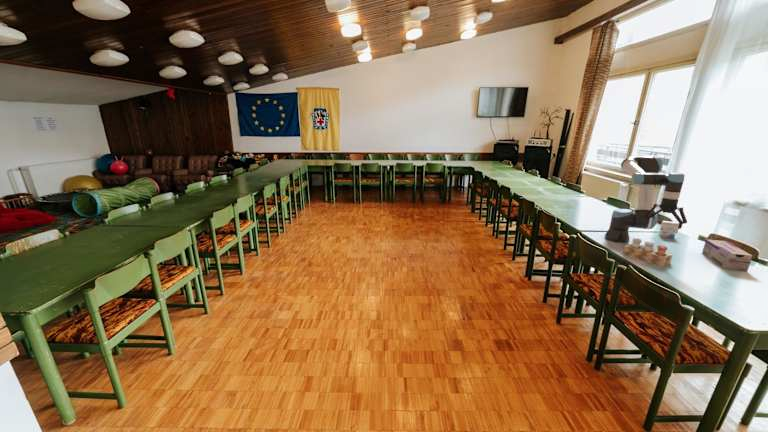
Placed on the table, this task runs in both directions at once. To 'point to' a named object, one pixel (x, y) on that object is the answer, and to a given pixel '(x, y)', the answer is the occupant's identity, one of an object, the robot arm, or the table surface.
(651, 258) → the press block
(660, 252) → the terracotta plunger
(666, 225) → the ink box
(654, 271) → the table surface
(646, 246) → the grey plunger middle
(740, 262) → the surgical sutures box
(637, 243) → the grey plunger near
